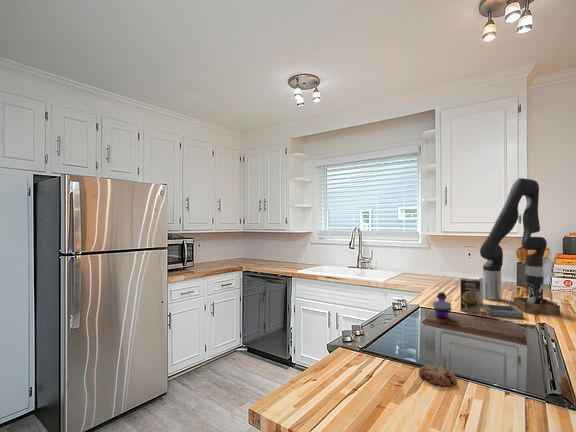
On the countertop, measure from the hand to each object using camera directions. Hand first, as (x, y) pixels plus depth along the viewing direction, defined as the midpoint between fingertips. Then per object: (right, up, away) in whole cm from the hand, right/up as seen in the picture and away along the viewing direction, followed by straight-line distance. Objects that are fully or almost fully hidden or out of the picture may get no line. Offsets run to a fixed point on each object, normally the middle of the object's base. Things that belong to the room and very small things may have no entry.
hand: (534, 306), depth 169 cm
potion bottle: (-55, -2, -12) cm, 56 cm away
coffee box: (-35, -2, -1) cm, 35 cm away
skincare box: (-24, -3, +14) cm, 27 cm away
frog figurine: (0, -2, 0) cm, 2 cm away
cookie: (-86, -1, -73) cm, 113 cm away
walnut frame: (0, -2, 0) cm, 2 cm away
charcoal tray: (-22, -2, -7) cm, 23 cm away
